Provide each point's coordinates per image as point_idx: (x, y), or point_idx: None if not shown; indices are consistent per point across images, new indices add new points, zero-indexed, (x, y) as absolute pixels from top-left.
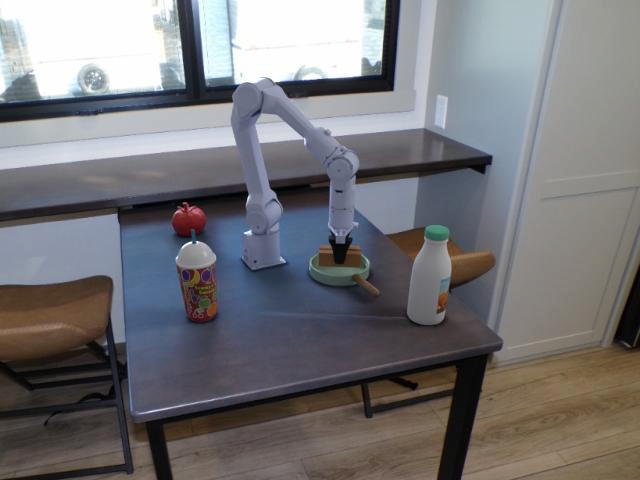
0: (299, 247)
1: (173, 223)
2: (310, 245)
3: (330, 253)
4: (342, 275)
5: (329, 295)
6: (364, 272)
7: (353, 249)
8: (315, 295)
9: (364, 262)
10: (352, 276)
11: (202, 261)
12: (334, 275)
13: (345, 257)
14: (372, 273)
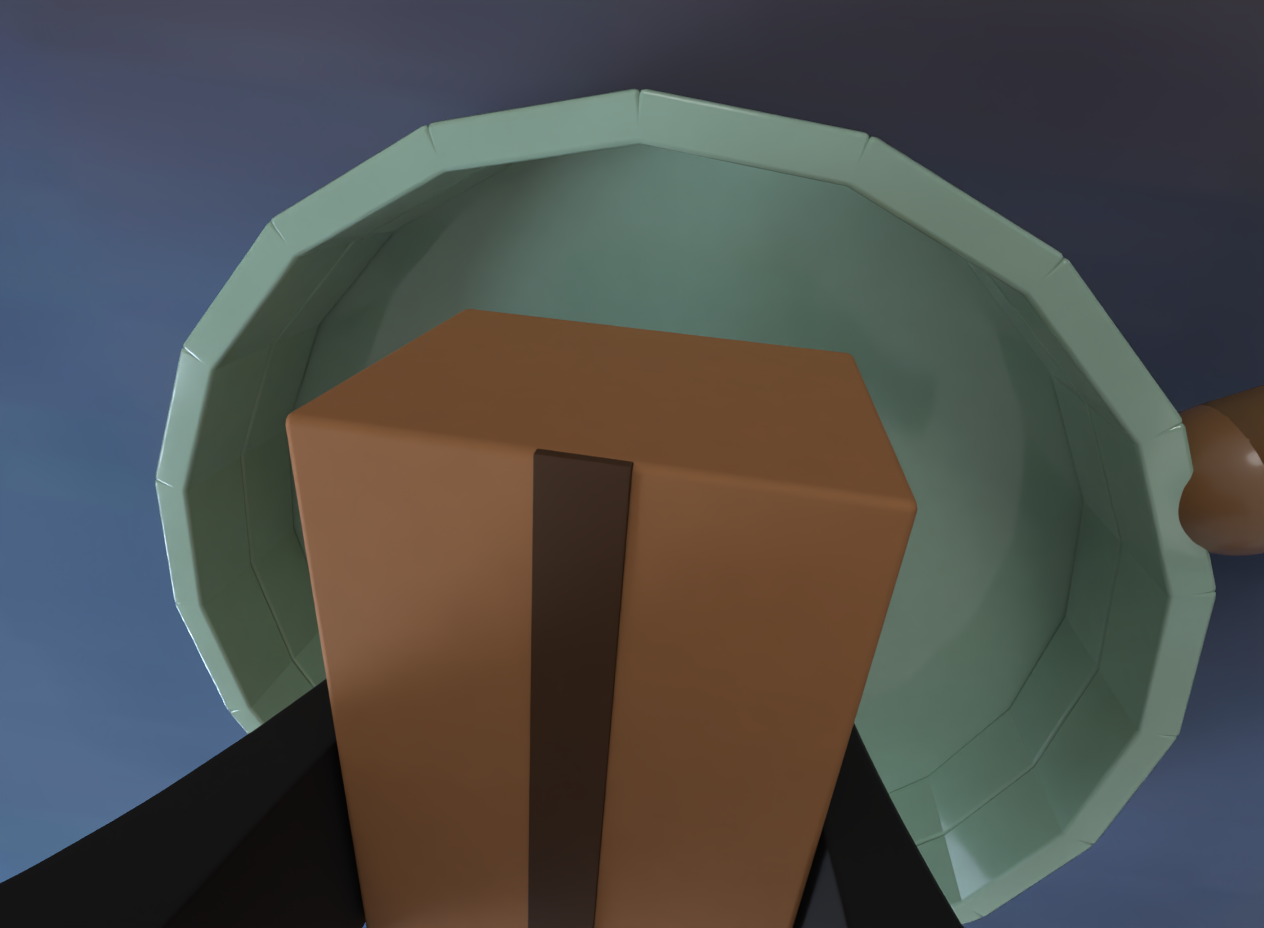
0: (97, 796)
1: None
2: (16, 710)
3: None
4: (1152, 710)
5: (1257, 741)
6: (1081, 282)
7: (559, 654)
8: (1193, 856)
9: (449, 184)
10: (1227, 553)
11: None
12: (1109, 808)
13: (898, 816)
14: (666, 31)
